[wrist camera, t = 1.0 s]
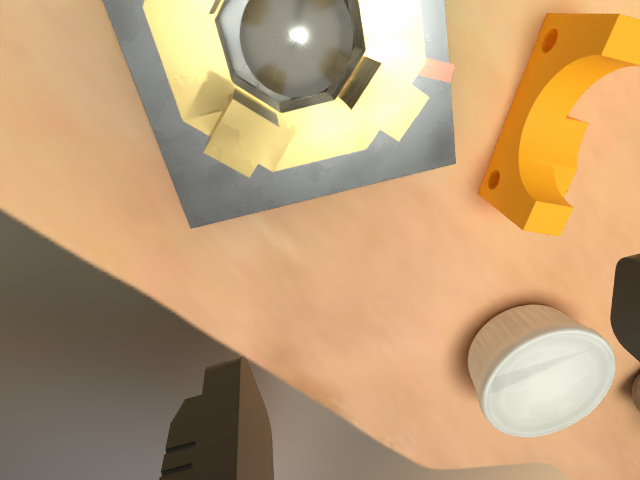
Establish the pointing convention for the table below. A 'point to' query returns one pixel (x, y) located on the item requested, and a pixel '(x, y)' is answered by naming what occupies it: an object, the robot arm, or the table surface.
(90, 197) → the table surface
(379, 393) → the table surface
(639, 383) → the pipe fitting
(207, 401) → the robot arm
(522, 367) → the ramekin
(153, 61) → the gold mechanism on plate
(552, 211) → the pipe clamp
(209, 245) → the table surface
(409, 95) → the ring nut
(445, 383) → the table surface
